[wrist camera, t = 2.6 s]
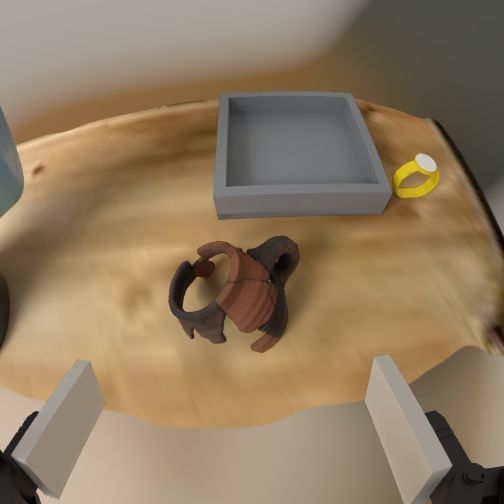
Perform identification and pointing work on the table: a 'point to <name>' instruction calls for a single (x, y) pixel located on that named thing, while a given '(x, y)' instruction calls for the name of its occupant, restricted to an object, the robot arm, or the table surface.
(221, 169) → the tray
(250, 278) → the broken clay jug
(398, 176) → the watch
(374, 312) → the table surface
